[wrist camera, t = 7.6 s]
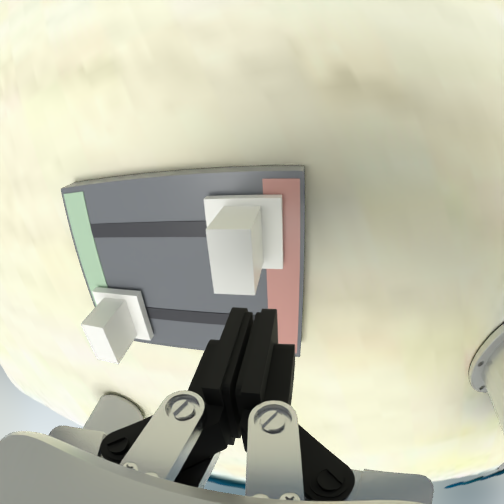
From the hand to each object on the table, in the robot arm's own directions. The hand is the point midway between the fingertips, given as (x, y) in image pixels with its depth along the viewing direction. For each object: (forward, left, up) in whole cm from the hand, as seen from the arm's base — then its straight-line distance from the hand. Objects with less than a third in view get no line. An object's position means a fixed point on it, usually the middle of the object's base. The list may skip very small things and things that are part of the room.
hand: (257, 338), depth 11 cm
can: (+24, +29, -13) cm, 40 cm away
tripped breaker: (+2, 0, -10) cm, 11 cm away
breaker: (+14, +8, -10) cm, 19 cm away
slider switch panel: (+8, +4, -13) cm, 16 cm away
